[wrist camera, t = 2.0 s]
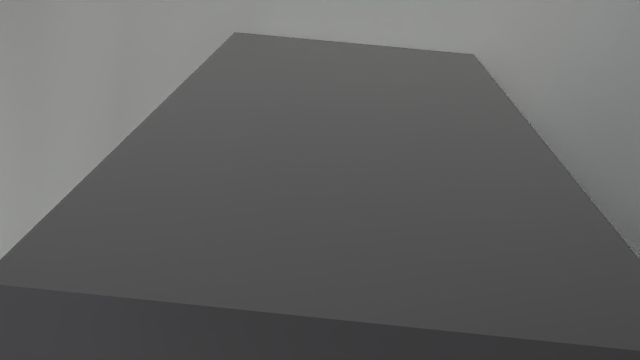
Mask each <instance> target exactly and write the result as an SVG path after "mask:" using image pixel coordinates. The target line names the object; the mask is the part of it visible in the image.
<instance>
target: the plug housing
mask: <svg viewBox="0 0 640 360" xmlns="http://www.w3.org/2000/svg"><path fill="white" fill-rule="evenodd" d="M0 360H640V260H639V259H638V257H637V256H636V255H635V254H634V252H633V251H632V250H631V249H630V247H629V246H628V245H627V244H626V243H625V241H624V240H623V239H622V238H621V236H620V235H619V234H618V233H617V231H616V230H615V229H614V228H613V226H612V225H611V224H610V223H609V221H608V220H607V219H606V218H605V217H604V215H603V214H602V213H601V212H600V210H599V209H598V208H597V207H596V205H595V204H594V203H593V202H592V200H591V199H590V198H589V197H588V196H587V194H586V193H585V192H584V191H583V189H582V188H581V187H580V186H579V184H578V183H577V182H576V181H575V179H574V178H573V177H572V176H571V174H570V173H569V172H568V171H567V170H566V168H565V167H564V166H563V165H562V163H561V162H560V161H559V160H558V158H557V157H556V156H555V155H554V153H553V152H552V151H551V150H550V149H549V147H548V146H547V145H546V144H545V142H544V141H543V140H542V139H541V137H540V136H539V135H538V134H537V132H536V131H535V130H534V129H533V128H532V126H531V125H530V124H529V123H528V121H527V120H526V119H525V118H524V116H523V115H522V114H521V113H520V111H519V110H518V109H517V108H516V106H515V105H514V104H513V103H512V102H511V100H510V99H509V98H508V97H507V95H506V94H505V93H504V92H503V90H502V89H501V88H500V87H499V85H498V84H497V83H496V82H495V81H494V79H493V78H492V77H491V76H490V74H489V73H488V72H487V71H486V69H485V68H484V67H483V66H482V64H481V63H480V62H479V61H478V59H477V58H476V57H475V56H474V55H472V54H462V53H451V52H440V51H429V50H418V49H407V48H397V47H386V46H375V45H364V44H353V43H342V42H332V41H321V40H310V39H299V38H288V37H277V36H267V35H256V34H245V33H234V34H233V35H232V36H231V37H230V38H229V39H228V40H227V41H226V42H225V43H224V44H223V45H222V46H221V47H219V48H218V49H217V50H216V51H215V52H214V53H213V54H212V55H211V56H210V57H209V58H208V59H207V60H206V61H205V62H204V63H203V64H202V65H201V66H200V67H199V68H198V69H197V70H196V71H195V72H194V73H193V74H192V75H191V76H190V77H189V78H188V79H186V80H185V81H184V82H183V83H182V84H181V85H180V86H179V87H178V88H177V89H176V90H175V91H174V92H173V93H172V94H171V95H170V96H169V97H168V98H167V99H166V100H165V101H164V102H163V103H162V104H161V105H160V106H159V107H158V108H157V109H156V110H154V111H153V112H152V113H151V114H150V115H149V116H148V117H147V118H146V119H145V120H144V121H143V122H142V123H141V124H140V125H139V126H138V127H137V128H136V129H135V130H134V131H133V132H132V133H131V134H130V135H129V136H128V137H127V138H126V139H125V140H124V141H123V142H121V143H120V144H119V145H118V146H117V147H116V148H115V149H114V150H113V151H112V152H111V153H110V154H109V155H108V156H107V157H106V158H105V159H104V160H103V161H102V162H101V163H100V164H99V165H98V166H97V167H96V168H95V169H94V170H93V171H92V172H91V173H89V174H88V175H87V176H86V177H85V178H84V179H83V180H82V181H81V182H80V183H79V184H78V185H77V186H76V187H75V188H74V189H73V190H72V191H71V192H70V193H69V194H68V195H67V196H66V197H65V198H64V199H63V200H62V201H61V202H60V203H59V204H58V205H56V206H55V207H54V208H53V209H52V210H51V211H50V212H49V213H48V214H47V215H46V216H45V217H44V218H43V219H42V220H41V221H40V222H39V223H38V224H37V225H36V226H35V227H34V228H33V229H32V230H31V231H30V232H29V233H28V234H27V235H26V236H24V237H23V238H22V239H21V240H20V241H19V242H18V243H17V244H16V245H15V246H14V247H13V248H12V249H11V250H10V251H9V252H8V253H7V254H6V255H5V256H4V257H3V258H2V259H1V260H0Z"/></svg>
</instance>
